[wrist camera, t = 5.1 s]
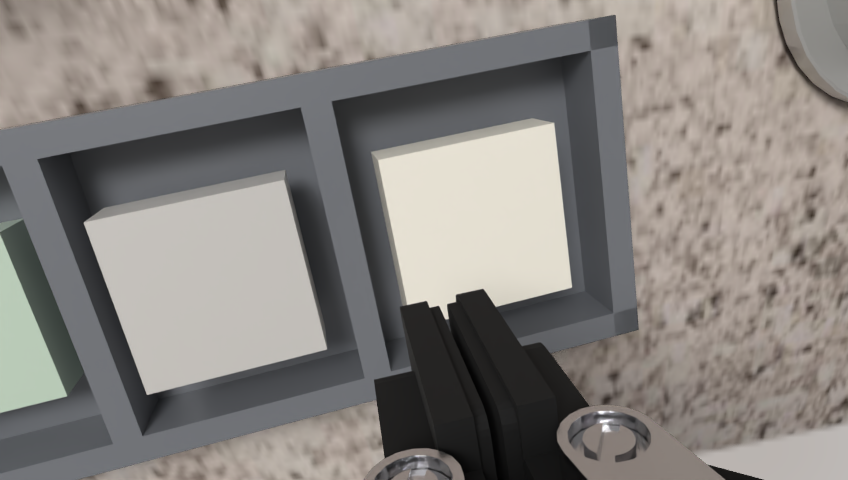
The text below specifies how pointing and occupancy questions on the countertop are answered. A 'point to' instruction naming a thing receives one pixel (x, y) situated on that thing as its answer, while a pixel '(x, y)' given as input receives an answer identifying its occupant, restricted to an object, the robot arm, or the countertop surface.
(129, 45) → the countertop surface
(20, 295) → the sage key
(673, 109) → the countertop surface
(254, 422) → the grey compartment tray
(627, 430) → the robot arm
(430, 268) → the cream key
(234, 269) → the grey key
